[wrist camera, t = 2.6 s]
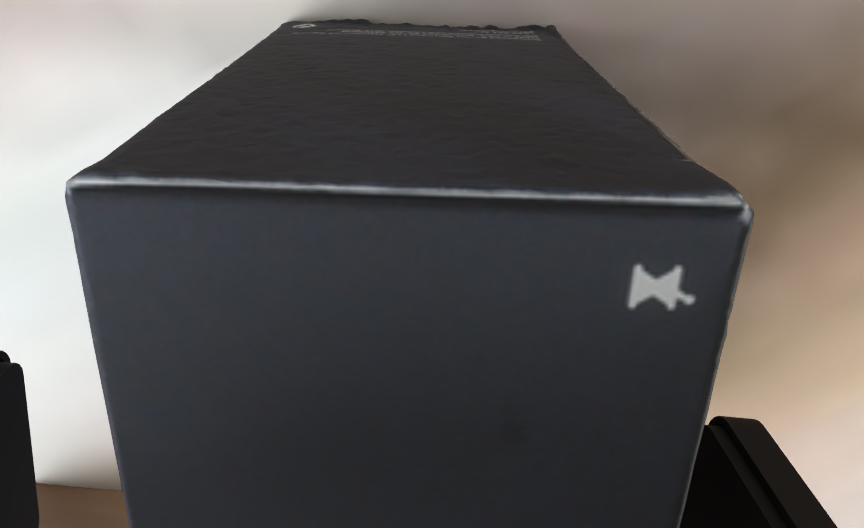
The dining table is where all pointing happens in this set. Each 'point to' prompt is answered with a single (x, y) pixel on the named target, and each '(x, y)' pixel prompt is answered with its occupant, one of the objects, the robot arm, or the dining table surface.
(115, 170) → the small box
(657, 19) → the dining table surface
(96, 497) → the tower base
